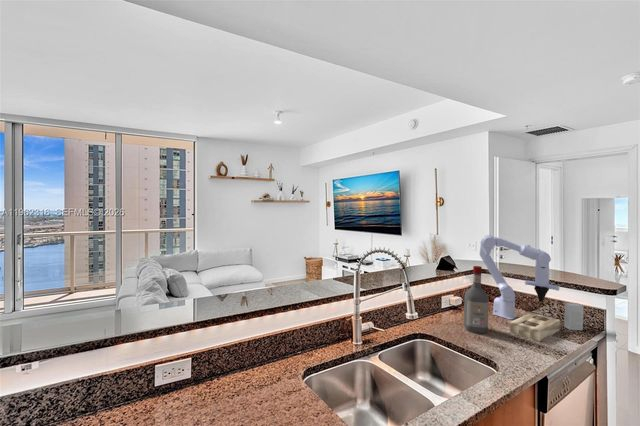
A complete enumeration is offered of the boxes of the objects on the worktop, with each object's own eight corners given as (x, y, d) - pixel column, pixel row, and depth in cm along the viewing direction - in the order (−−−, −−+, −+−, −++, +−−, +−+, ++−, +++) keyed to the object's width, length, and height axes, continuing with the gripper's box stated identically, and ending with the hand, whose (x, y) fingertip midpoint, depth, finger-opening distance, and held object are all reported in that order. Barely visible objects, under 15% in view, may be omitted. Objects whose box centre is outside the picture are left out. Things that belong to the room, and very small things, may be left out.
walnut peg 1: (523, 333, 145) (523, 322, 145) (526, 331, 147) (527, 320, 147) (532, 336, 142) (533, 325, 142) (536, 334, 144) (536, 323, 144)
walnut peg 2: (533, 327, 152) (534, 317, 152) (537, 325, 154) (537, 315, 154) (543, 330, 149) (543, 320, 149) (546, 328, 151) (547, 318, 151)
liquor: (488, 334, 144) (491, 269, 143) (467, 332, 146) (469, 267, 145) (482, 326, 153) (484, 265, 152) (462, 324, 154) (464, 264, 154)
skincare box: (576, 327, 154) (577, 303, 154) (582, 330, 150) (584, 305, 150) (563, 326, 155) (564, 302, 155) (569, 330, 151) (570, 305, 150)
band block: (509, 332, 146) (510, 321, 146) (531, 322, 160) (531, 312, 160) (539, 342, 136) (539, 330, 136) (559, 330, 150) (560, 319, 150)
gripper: (522, 273, 164) (522, 299, 164) (556, 278, 152) (555, 306, 153) (528, 271, 168) (527, 296, 169) (561, 276, 156) (560, 303, 157)
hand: (541, 301), depth 161 cm, fingers closed
